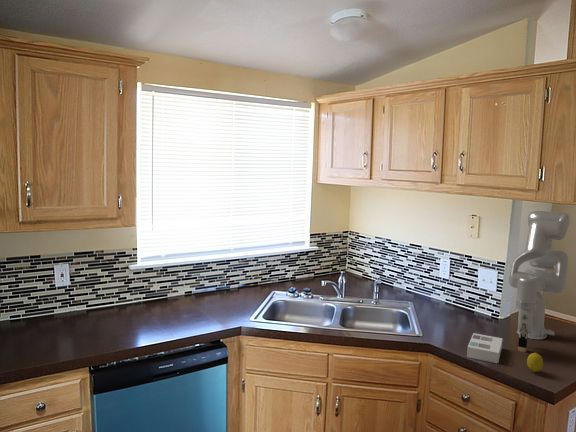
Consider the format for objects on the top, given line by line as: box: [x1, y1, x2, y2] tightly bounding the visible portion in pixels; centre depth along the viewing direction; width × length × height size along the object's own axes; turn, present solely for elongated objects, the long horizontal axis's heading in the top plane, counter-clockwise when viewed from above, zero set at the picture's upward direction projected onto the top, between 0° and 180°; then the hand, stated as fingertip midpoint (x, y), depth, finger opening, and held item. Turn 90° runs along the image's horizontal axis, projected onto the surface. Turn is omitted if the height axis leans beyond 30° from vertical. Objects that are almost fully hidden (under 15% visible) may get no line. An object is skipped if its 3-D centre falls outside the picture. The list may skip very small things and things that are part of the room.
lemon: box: [526, 352, 544, 373], centre depth 178 cm, size 6×6×8 cm
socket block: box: [466, 332, 503, 364], centre depth 196 cm, size 12×18×5 cm, turn 151°
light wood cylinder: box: [517, 330, 528, 353], centre depth 198 cm, size 3×3×9 cm
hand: (522, 343), depth 199 cm, fingers open, 9 cm apart
